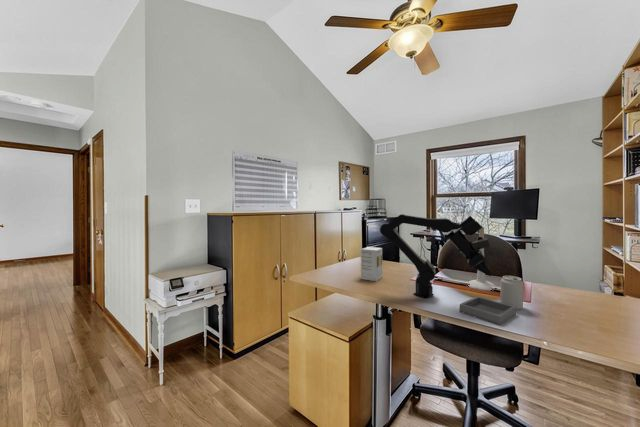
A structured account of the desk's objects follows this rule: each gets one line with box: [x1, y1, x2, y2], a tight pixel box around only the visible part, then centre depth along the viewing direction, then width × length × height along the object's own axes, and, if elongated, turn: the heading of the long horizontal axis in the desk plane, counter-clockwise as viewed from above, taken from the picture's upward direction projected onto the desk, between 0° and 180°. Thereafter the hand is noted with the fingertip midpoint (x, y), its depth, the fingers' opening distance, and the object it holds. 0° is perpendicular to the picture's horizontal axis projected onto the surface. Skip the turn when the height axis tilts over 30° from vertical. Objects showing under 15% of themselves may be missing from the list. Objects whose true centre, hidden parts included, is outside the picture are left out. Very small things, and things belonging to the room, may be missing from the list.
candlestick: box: [467, 226, 495, 292], centre depth 133 cm, size 13×13×30 cm
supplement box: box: [360, 246, 383, 282], centre depth 150 cm, size 10×9×17 cm
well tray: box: [459, 295, 517, 326], centre depth 103 cm, size 14×14×3 cm
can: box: [499, 275, 524, 311], centre depth 108 cm, size 8×8×12 cm
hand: (489, 272), depth 111 cm, fingers open, 9 cm apart
